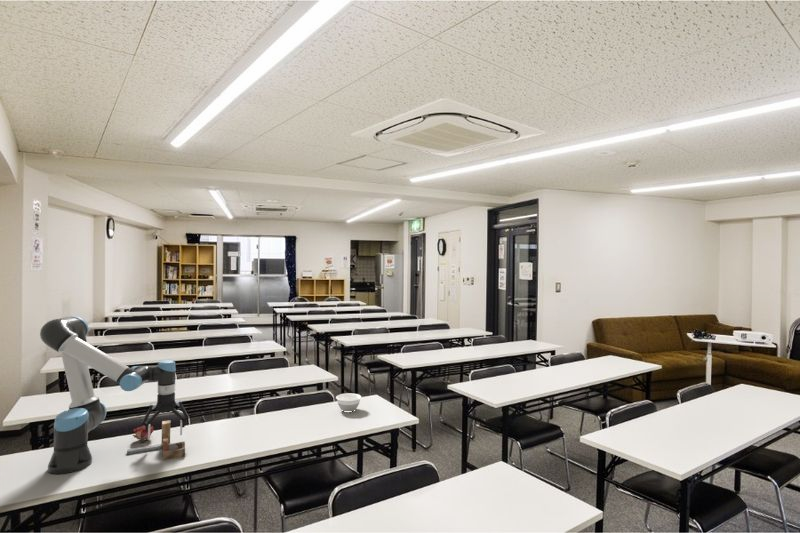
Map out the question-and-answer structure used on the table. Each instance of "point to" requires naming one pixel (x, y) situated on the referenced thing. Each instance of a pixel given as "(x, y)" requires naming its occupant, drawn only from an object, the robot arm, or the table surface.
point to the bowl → (348, 401)
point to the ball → (173, 447)
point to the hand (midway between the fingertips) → (165, 436)
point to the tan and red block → (165, 434)
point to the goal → (174, 451)
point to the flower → (142, 433)
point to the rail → (144, 449)
